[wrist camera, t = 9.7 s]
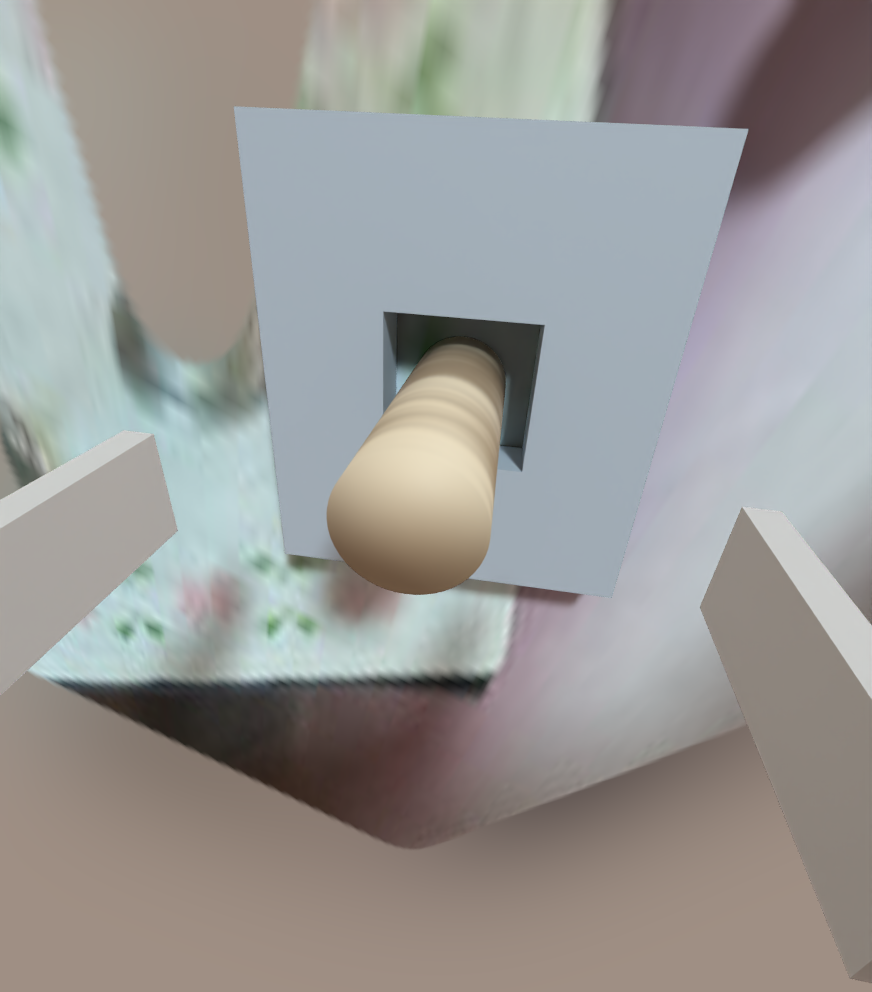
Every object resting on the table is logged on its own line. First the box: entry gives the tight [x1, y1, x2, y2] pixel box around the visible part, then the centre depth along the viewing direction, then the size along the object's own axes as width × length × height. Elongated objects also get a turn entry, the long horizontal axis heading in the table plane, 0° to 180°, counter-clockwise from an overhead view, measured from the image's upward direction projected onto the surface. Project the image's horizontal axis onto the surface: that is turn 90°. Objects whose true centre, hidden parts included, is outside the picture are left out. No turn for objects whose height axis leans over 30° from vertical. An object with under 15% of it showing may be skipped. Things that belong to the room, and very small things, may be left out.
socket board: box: [234, 107, 749, 598], centre depth 21 cm, size 18×16×2 cm
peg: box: [326, 336, 506, 595], centre depth 17 cm, size 4×4×12 cm
